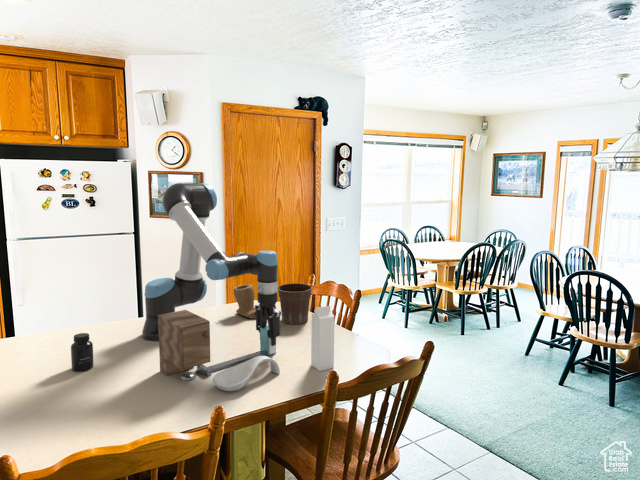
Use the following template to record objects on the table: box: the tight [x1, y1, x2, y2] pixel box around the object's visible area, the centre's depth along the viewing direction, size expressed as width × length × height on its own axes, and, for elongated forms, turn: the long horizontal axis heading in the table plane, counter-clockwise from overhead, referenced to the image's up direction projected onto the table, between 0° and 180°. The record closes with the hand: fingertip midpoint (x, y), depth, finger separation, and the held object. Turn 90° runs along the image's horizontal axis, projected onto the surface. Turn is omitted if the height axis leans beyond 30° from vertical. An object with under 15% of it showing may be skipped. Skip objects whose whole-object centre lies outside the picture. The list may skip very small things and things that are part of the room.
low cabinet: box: [158, 309, 211, 377], centre depth 154 cm, size 19×10×20 cm, turn 43°
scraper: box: [196, 324, 277, 377], centre depth 167 cm, size 7×30×10 cm, turn 133°
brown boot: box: [233, 283, 256, 319], centre depth 223 cm, size 15×12×15 cm
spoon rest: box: [212, 355, 281, 392], centre depth 152 cm, size 24×12×7 cm, turn 133°
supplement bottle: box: [70, 332, 95, 373], centre depth 160 cm, size 7×7×12 cm
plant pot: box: [277, 282, 313, 325], centre depth 215 cm, size 16×16×16 cm
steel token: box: [180, 371, 197, 382], centre depth 155 cm, size 5×5×1 cm
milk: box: [310, 305, 335, 372], centre depth 163 cm, size 6×6×22 cm
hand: (267, 351), depth 177 cm, fingers closed on scraper, 4 cm apart
